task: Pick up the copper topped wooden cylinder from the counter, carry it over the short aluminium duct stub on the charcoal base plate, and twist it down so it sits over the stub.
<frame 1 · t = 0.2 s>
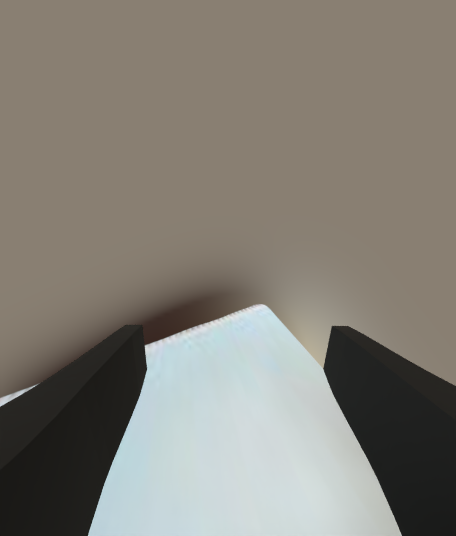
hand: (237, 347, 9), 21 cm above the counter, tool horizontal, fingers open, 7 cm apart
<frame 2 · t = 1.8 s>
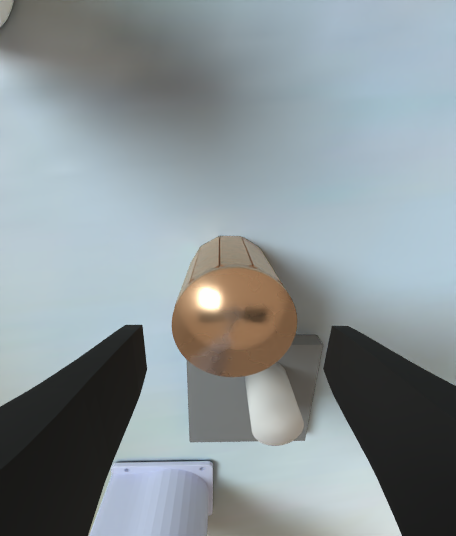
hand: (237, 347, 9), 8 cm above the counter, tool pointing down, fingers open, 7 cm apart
copper topped wooden cylinder: (229, 274, 17), on the counter
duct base: (249, 385, 20), on the counter
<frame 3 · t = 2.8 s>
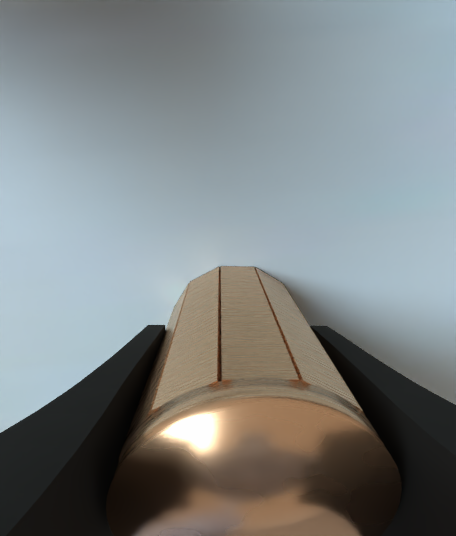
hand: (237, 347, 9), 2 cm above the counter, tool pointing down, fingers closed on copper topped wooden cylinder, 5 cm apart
copper topped wooden cylinder: (234, 323, 11), on the counter, touching gripper
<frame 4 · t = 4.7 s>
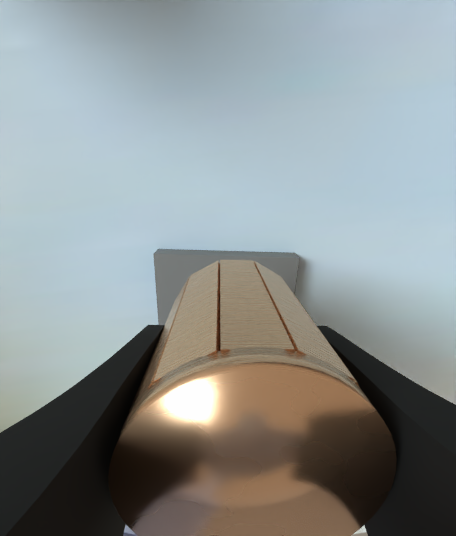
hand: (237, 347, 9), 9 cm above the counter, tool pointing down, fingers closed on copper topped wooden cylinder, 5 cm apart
copper topped wooden cylinder: (234, 316, 11), point 7 cm above the counter, touching gripper
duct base: (224, 311, 19), on the counter
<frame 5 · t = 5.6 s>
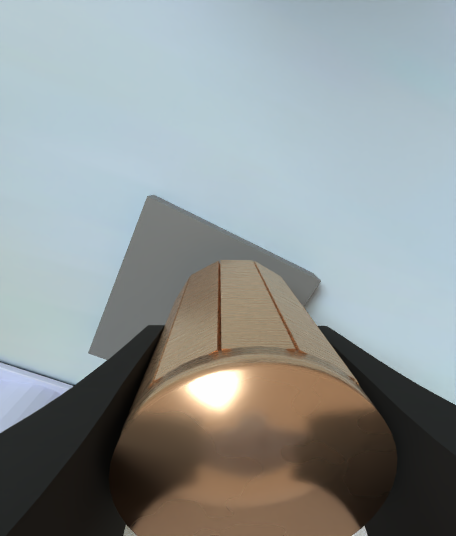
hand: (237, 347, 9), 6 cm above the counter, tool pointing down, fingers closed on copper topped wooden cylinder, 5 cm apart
copper topped wooden cylinder: (234, 316, 11), point 4 cm above the counter, touching gripper
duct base: (201, 308, 15), on the counter
when the fingers open (4 cm above the counter, at t = 6.4 s): copper topped wooden cylinder drops 1 cm, resting on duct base.
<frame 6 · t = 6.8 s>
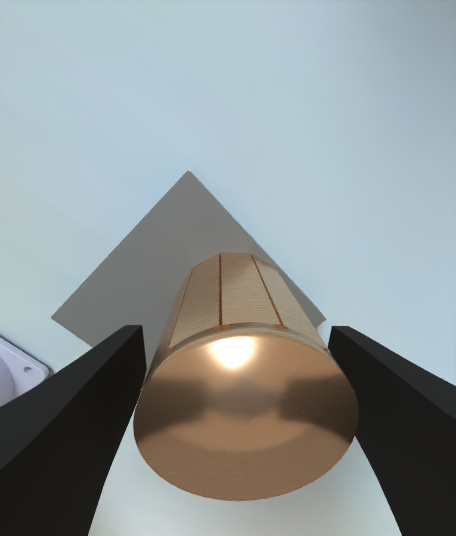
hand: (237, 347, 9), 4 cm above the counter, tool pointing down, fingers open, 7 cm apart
copper topped wooden cylinder: (233, 304, 12), point 1 cm above the counter, touching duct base
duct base: (193, 307, 13), on the counter
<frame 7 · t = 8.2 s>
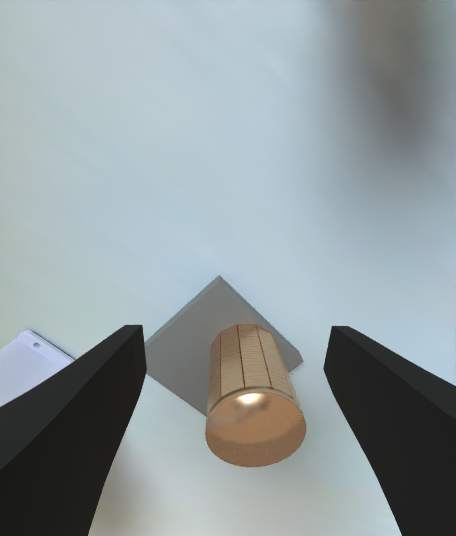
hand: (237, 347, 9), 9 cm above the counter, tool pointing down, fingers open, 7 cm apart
copper topped wooden cylinder: (244, 352, 19), point 1 cm above the counter, touching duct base
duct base: (218, 351, 21), on the counter
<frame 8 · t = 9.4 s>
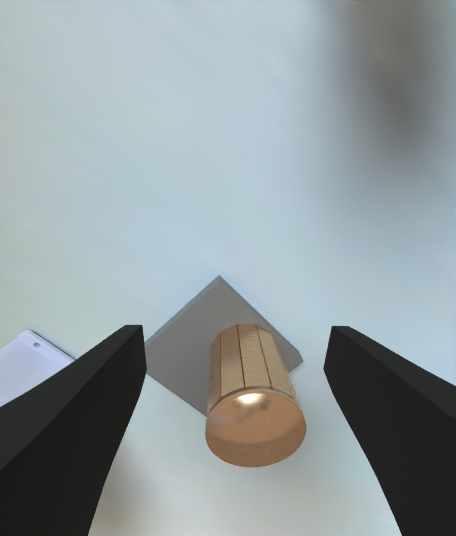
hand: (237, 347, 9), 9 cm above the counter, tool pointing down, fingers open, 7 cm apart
copper topped wooden cylinder: (244, 352, 19), point 1 cm above the counter, touching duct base
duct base: (218, 351, 21), on the counter
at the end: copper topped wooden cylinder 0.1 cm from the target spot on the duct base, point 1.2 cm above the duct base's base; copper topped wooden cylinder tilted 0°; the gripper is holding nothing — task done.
